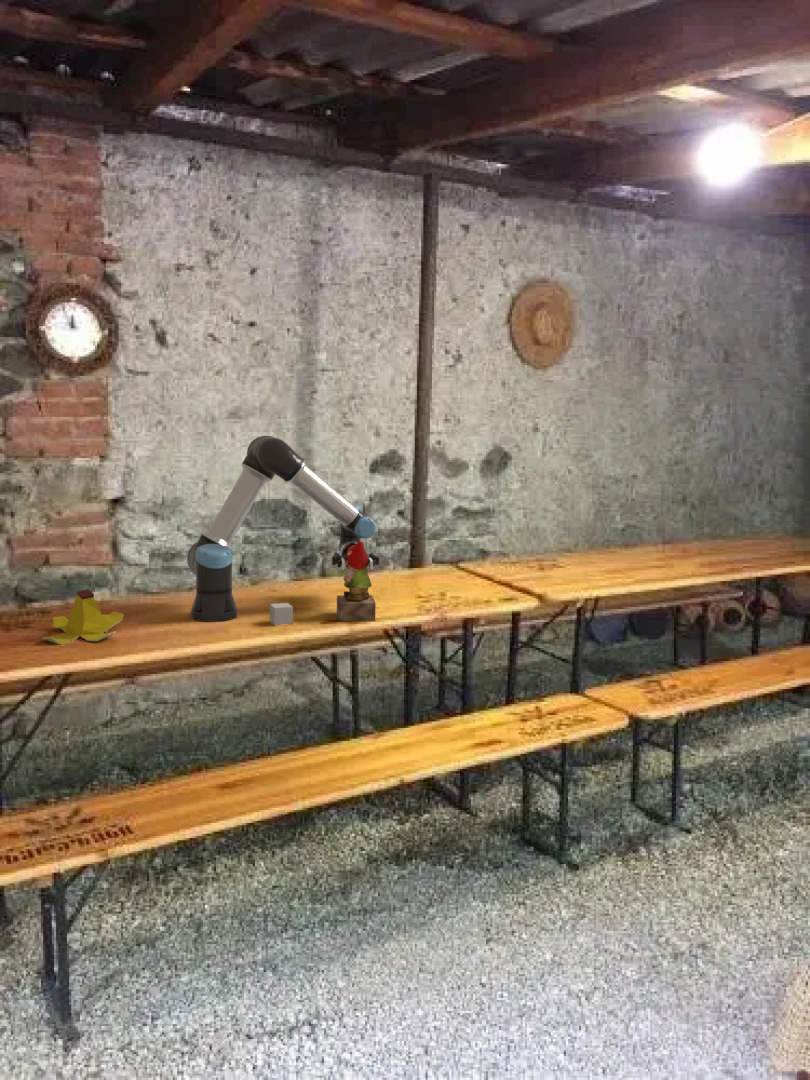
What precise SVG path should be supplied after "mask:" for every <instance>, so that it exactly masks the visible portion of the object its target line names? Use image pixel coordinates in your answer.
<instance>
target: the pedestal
mask: <svg viewBox="0 0 810 1080" xmlns="http://www.w3.org/2000/svg"><path fill="white" fill-rule="evenodd" d="M376 605H377V604H376V601H375V599H374V597H373V595H372V594H369V599H363V600H360V601H355V600H346V599H345V598H344V594H343V595H342V594H341V595H340V594H339V595H336V615H337V618H338V621H339V622H365V621H366V622H369V621H371V622H372V621H373V622H375V621H376Z"/></svg>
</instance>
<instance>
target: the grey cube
mask: <svg viewBox="0 0 810 1080" xmlns="http://www.w3.org/2000/svg"><path fill="white" fill-rule="evenodd" d="M269 622H270V623H271V622H272V623H273V624H274V625H281V624H294V607H293V605H291V604H290V603H289V602H284V603H283V602H282V603H270V604H269ZM272 623H271V624H272ZM273 624H272V625H273ZM274 625H273V626H274Z"/></svg>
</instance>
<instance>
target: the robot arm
mask: <svg viewBox="0 0 810 1080" xmlns="http://www.w3.org/2000/svg"><path fill="white" fill-rule="evenodd" d="M241 466H242V471H241V474H240V475H239V477H238V479H237V481H236V482H235V484H234V486H233V488H232V489H231V491H230V493H229V495H228V497H227V498H226V500H225V502H224V503H223V505H222V506H221V509H220V510H219V512H218V514H217V515H216V517H215V519H214V520H213V523H212V525H210V528H209V529H208V530H207V531H204V532H202V533H201V534H200V536H199V538H198V539H197V541H196V542H195V543H193V544H192V545H191V547H190V548H189V549H188V551H187V555H186V556H187V557H186V561H187V562H186V563H187V565H188V567H189V569H190V571H191V572H192V573H193V574H194V575H195V579H196V581H195V582H196V583H195V584H196V585H195V588H196V593H195V598H194V600H193V603H192V607H191V609H190V617H191V619H194V620H197V621H203V622H223V621H229V620H233V619H235V617H236V618H237V617H238V607H237V604H236V602H235V598H234V596H233V553H232V550H233V548H232V542H233V539H234V538H235V536H236V535H237V534H238V531H239V530H240V528H241V526H242V525H243V522H244V521H245V519H246V517H247V515H248V513H250V510H251V508H252V507H253V505H254V503H255V501H256V500H257V498H258V496H259V494H260V493H261V491H262V489H263V487H264V486H265V484H266V483H268V482H269V483H270V482H271V481H272V480H273V479H274V477H275V476H277V477H279V478H280V479H282V480H283V481H284V482H285V483H292V485H294V486H295V487H296V488H298V490H300V491H301V492H303V493H304V494H305V495H306V496H307V497H309V498H310V499H311V500H312V501H314V502H315V503H316V504H317V505H318V506H319V507H320V508H322V509H323V510H325V511H326V512H327V513H329V514H330V515H331V516H332V517H333V518H334V519H336V520H337V521H338V522H339V544H338V551H339V553H338V552H334V553H333V556H332V557H331V559H332V561H331V565H332V566H336V565H337V568H341V570H345V569H346V565H347V563H346V560H347V558H346V553H347V550H348V549H349V548H350V547H351V546H353V545H356V544H357V543H358V542H359V541H361V542H362V539H364V540H365V539H371V538H372V537H373V536H374V535H375V534H376V532H377V524H376V522H375V520H374V519H372V518H371V517H369V516H367V515H366V514H365V513H364V512H362V507H361V506H360V505H355V504H353V503H351V502H350V501H349V500H348V499H346V498H345V497H344V496H343V495H342V494H340V493H339V492H338V491H337V490H336V489H335V488H333V487H332V485H330V484H329V483H328V482H326V481H325V480H324V479H323V478H322V477H321V476H319V475H318V474H317V473H315V472H314V471H313V469H311V468H310V467H308V466H307V465H306V461H305V459H304V458H303V457H301V456H300V455H299V454H298V453H297V452H296V451H295V450H294V449H293V448H292V447H291V446H290V445H289V444H288V443H287V442H285V441H284V440H283V439H280V438H278V437H274V436H272V435H260V436H257V437H256V438H253V440H252V441H250V443H249V444H248V446H247V450H246V455H245V458H244V460H243V461H242V463H241ZM367 554H368V556H369V564H368V567H369V569H370V570H374V566H379V565H380V557H379V556H377V555H376V554H374V552H370V553H367Z"/></svg>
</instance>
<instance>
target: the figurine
mask: <svg viewBox="0 0 810 1080" xmlns="http://www.w3.org/2000/svg"><path fill="white" fill-rule="evenodd" d="M368 554H369V553H367V551H366V549H365V544H364V543H363V541H362V540H361V541H359V542H358V543H357V544H356V545H353V546H351V547H350V548H349V549H348V550H347V553H346V558H347V560H346V563H347V564H346V563H345V568H347V571H346V572H345V576H344V577H343V581H344V583H343V586H344V587H345V588H347V589H348V591H347V590H345V591H343V595H344V598H345V599H346V600H355V601H360V600H363V599H369V595H370V593H369V588H372V586H373V585H372V582H371V579H370V576H369V574H368V573H369V572H368V567H369V556H368Z"/></svg>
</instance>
